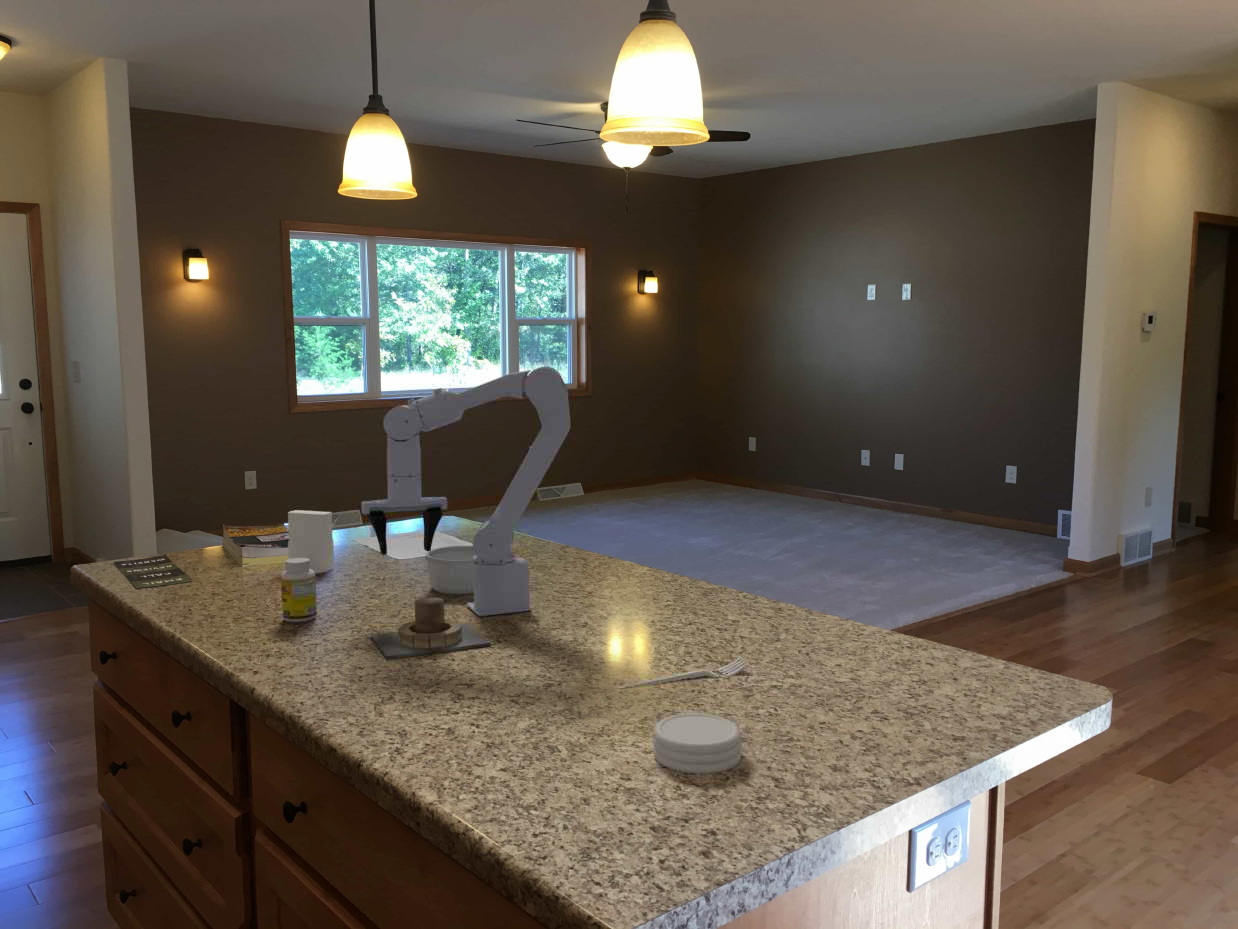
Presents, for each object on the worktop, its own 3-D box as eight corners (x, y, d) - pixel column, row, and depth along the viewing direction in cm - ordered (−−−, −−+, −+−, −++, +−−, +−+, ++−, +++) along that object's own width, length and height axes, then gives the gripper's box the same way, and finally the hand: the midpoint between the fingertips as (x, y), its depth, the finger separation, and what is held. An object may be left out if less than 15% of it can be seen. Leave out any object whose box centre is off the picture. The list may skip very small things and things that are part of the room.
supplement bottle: (283, 615, 168) (280, 557, 167) (316, 613, 169) (314, 555, 168) (282, 624, 162) (279, 564, 161) (317, 622, 164) (314, 562, 163)
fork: (613, 689, 134) (613, 676, 134) (739, 668, 142) (739, 655, 142) (622, 697, 131) (622, 684, 131) (751, 675, 139) (751, 662, 139)
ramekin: (489, 596, 181) (489, 560, 180) (419, 596, 181) (418, 559, 181) (499, 579, 194) (499, 545, 194) (434, 579, 195) (433, 545, 194)
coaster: (733, 739, 116) (734, 711, 116) (748, 776, 106) (748, 745, 106) (650, 740, 116) (650, 712, 115) (656, 777, 106) (656, 746, 105)
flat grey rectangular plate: (468, 625, 162) (468, 612, 162) (490, 645, 151) (490, 631, 151) (371, 637, 155) (371, 623, 155) (387, 659, 144) (386, 644, 144)
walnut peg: (435, 632, 156) (435, 596, 156) (449, 639, 153) (449, 601, 152) (410, 637, 154) (409, 600, 153) (424, 644, 150) (423, 606, 149)
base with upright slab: (280, 572, 200) (277, 514, 199) (306, 563, 209) (304, 507, 207) (318, 575, 198) (315, 517, 196) (342, 565, 206) (341, 509, 205)
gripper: (439, 470, 175) (440, 544, 177) (357, 474, 169) (359, 550, 171) (449, 475, 169) (450, 551, 171) (365, 479, 163) (366, 558, 165)
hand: (405, 551), depth 170 cm, fingers open, 7 cm apart
